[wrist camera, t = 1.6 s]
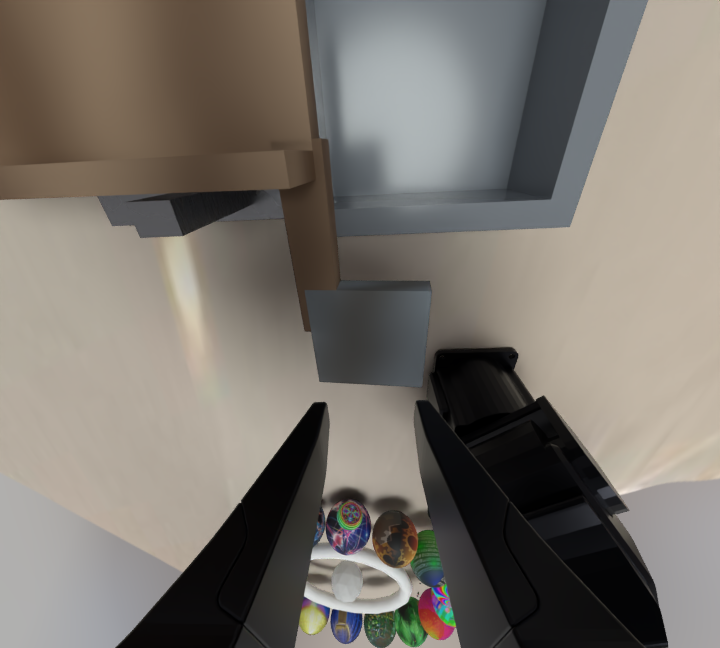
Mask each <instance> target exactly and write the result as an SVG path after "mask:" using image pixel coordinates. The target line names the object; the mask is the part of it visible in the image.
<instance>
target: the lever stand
mask: <svg viewBox="0 0 720 648" xmlns="http://www.w3.org/2000/svg"><path fill="white" fill-rule="evenodd" d="M97 197H98V199H99V201H100V203H101V205H102V207H103V209H104V211H105V213H106V215H107V217H108V219H109V221H110V223H111V224H112V226H123V225H135V227H136V229H137V232H138V234H139V236H140V238H147V237H170V236H184V235H186V234H188V233H191V232H193V231H195V230H197V229H199V228H202V227H204V226H206V225H208V224H211V223H213V222H215V221H236V220H259V219H281V218H284V214H283V209H282V203H281V198H280V192H279V189H268V190H242V191H215V192H189V193H163V194H136V195H110V196H97Z"/></svg>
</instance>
